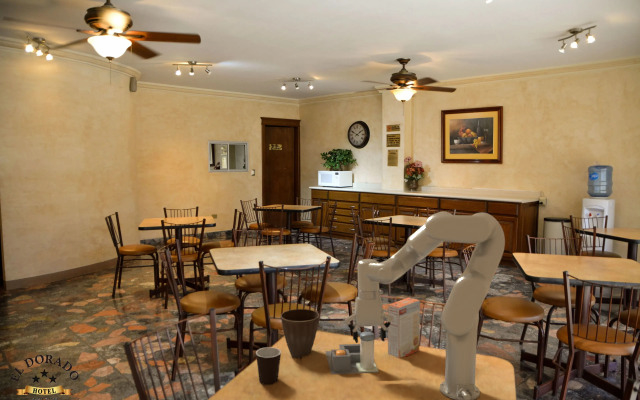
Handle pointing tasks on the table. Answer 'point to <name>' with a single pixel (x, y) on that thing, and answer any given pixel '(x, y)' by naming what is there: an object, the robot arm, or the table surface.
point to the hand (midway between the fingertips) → (369, 340)
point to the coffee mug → (268, 365)
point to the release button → (340, 352)
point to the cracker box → (404, 327)
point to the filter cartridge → (367, 350)
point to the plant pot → (300, 330)
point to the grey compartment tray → (345, 359)
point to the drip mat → (365, 369)
